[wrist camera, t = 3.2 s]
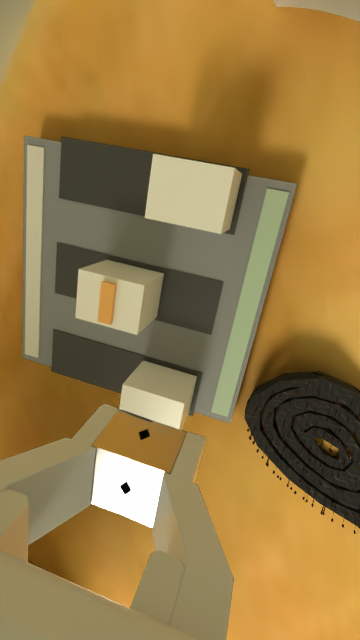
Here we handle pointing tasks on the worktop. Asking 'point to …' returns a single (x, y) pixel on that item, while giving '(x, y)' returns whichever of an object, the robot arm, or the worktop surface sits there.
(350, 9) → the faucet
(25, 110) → the worktop surface
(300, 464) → the hairbrush
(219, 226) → the block
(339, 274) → the worktop surface
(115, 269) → the breaker
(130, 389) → the block
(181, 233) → the panel
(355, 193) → the worktop surface
